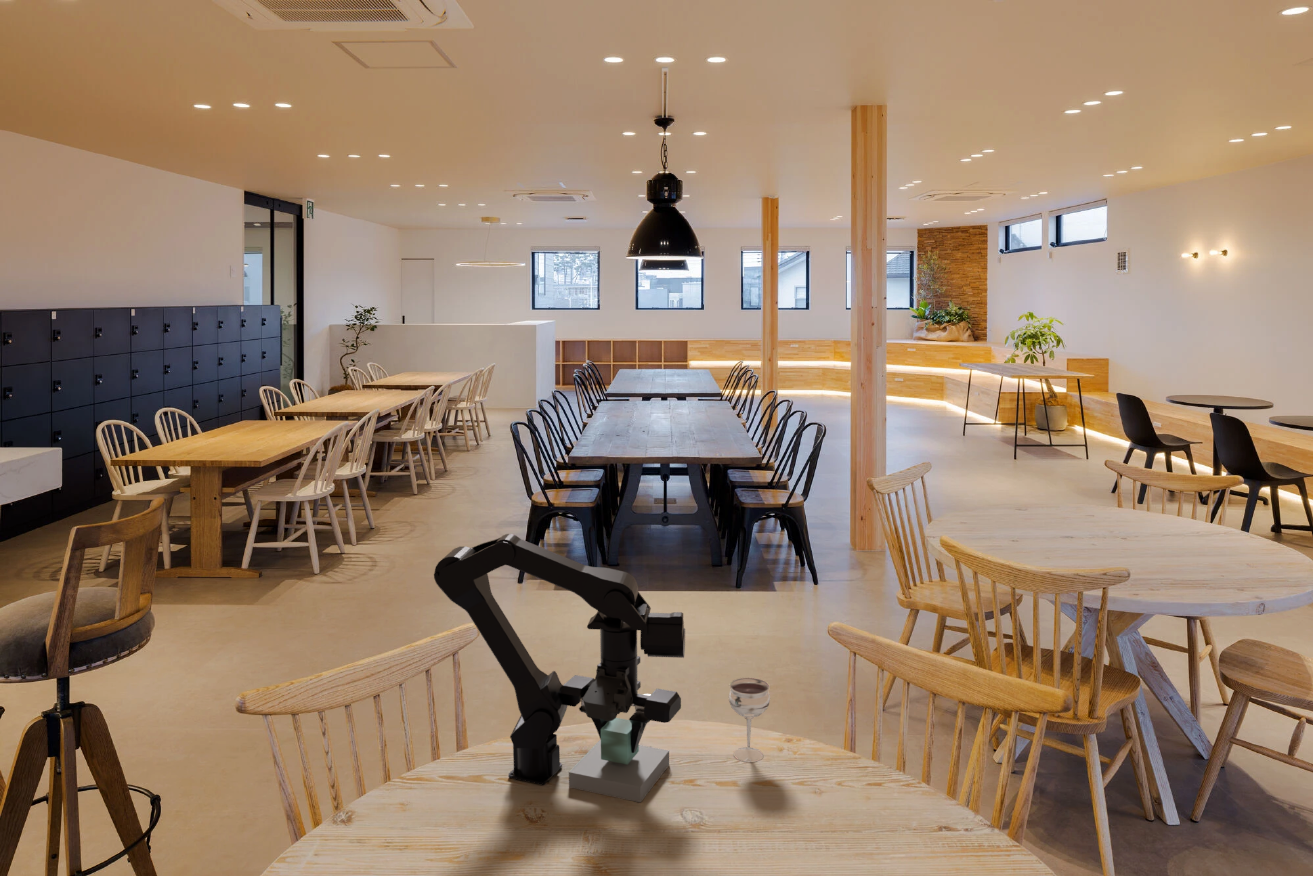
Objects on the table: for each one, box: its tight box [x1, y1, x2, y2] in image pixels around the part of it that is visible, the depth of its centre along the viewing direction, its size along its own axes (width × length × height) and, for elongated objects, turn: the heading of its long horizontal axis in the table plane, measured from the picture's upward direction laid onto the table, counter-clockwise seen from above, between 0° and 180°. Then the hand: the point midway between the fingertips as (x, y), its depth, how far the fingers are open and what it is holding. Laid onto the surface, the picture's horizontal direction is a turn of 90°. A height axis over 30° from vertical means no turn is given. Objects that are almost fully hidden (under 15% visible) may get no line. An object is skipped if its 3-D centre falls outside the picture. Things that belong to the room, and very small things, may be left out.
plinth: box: [568, 738, 670, 803], centre depth 143 cm, size 12×12×2 cm
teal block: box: [601, 717, 640, 764], centre depth 142 cm, size 4×4×5 cm
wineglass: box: [728, 677, 771, 763], centre depth 149 cm, size 7×7×12 cm
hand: (619, 749), depth 143 cm, fingers closed on teal block, 4 cm apart
